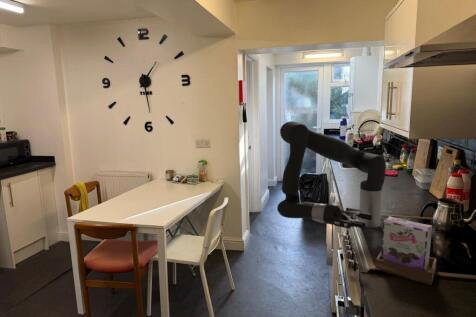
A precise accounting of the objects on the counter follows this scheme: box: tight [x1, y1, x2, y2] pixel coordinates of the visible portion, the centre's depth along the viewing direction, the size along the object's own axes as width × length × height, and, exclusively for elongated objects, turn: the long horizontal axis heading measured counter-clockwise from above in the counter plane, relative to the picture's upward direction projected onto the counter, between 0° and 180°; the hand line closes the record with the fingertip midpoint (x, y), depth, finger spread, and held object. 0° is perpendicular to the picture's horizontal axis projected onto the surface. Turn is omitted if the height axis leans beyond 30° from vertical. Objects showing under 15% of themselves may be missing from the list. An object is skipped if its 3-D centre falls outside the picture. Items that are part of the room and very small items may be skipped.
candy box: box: [381, 215, 433, 271], centre depth 110 cm, size 14×6×16 cm, turn 46°
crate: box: [375, 249, 437, 286], centre depth 111 cm, size 11×17×4 cm, turn 53°
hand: (368, 221), depth 118 cm, fingers open, 8 cm apart
